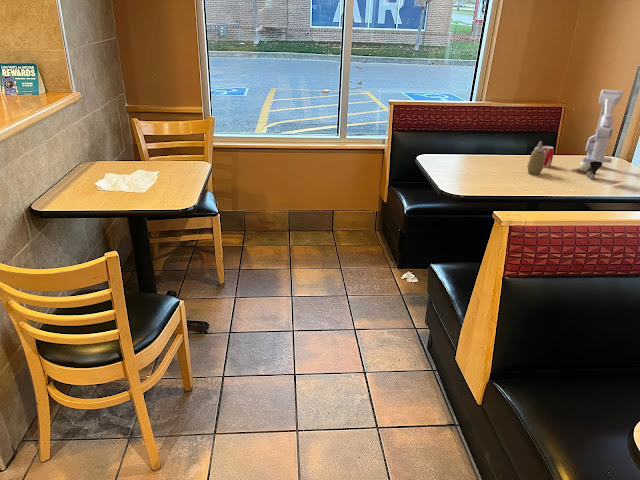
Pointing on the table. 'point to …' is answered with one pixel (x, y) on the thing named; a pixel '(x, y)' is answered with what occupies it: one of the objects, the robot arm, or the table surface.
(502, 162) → the table surface
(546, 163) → the soda can
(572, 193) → the table surface
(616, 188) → the table surface
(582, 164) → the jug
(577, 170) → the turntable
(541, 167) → the squeeze bottle
